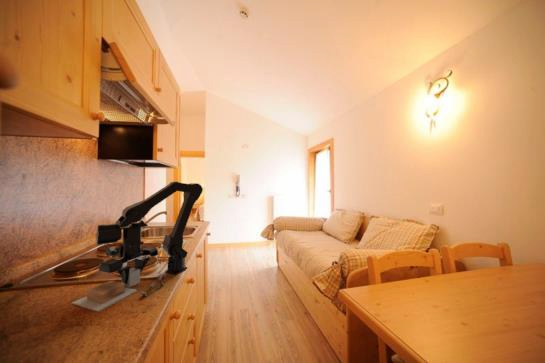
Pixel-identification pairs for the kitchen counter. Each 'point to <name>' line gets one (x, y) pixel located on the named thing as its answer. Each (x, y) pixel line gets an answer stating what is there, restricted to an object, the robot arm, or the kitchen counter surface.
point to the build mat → (98, 307)
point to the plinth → (105, 292)
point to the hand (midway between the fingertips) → (131, 281)
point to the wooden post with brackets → (153, 286)
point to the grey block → (133, 277)
